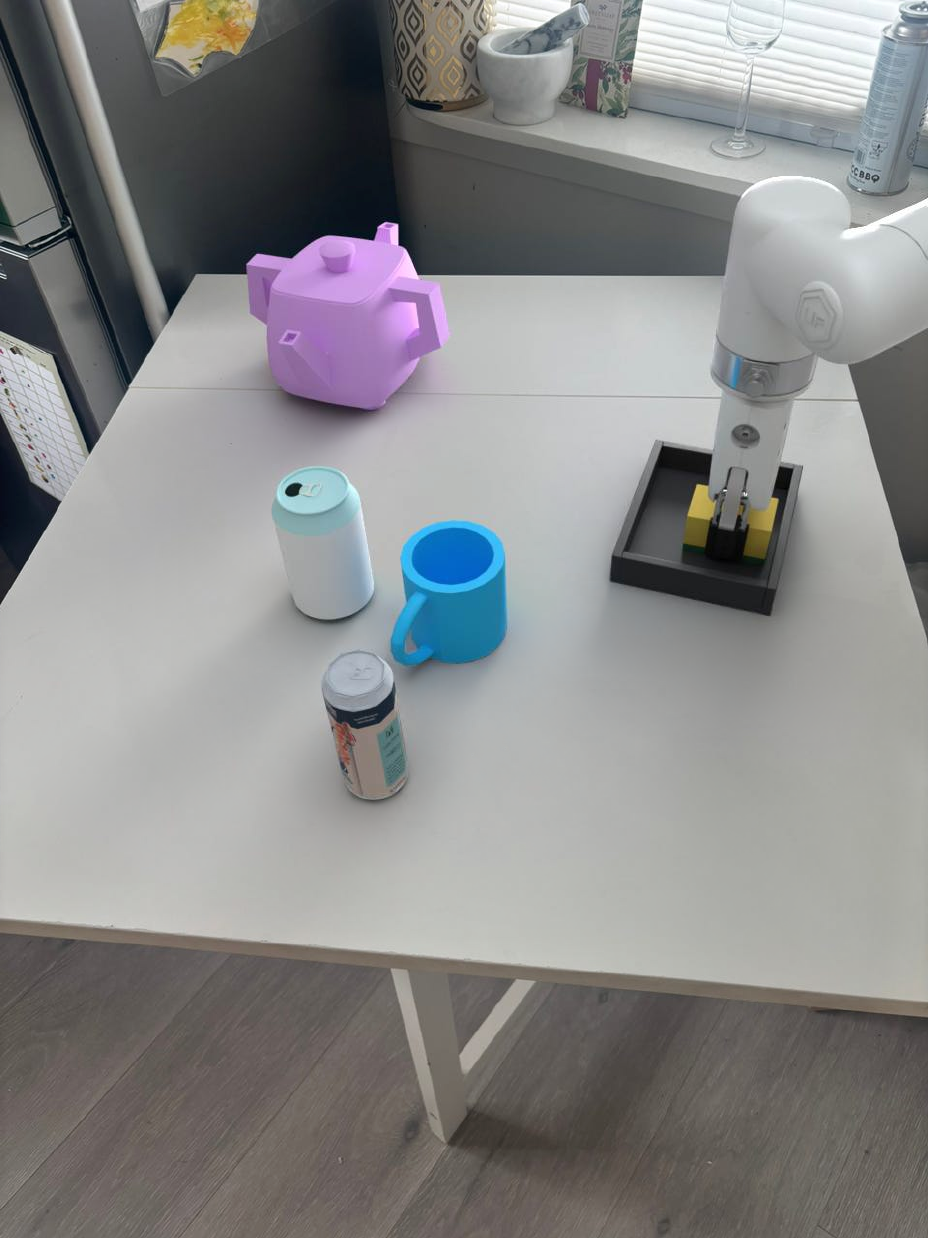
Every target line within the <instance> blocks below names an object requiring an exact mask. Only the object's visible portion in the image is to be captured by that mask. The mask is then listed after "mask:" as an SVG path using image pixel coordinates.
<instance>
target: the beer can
mask: <svg viewBox="0 0 928 1238" xmlns="http://www.w3.org/2000/svg"><path fill="white" fill-rule="evenodd" d="M320 685H321V686H320V687H321V694H322V698H323V701H324V705H325V710H326V713H327V718H328V721H329V722H328V723H329V725H330V729H331V733H332V737H333V741H334V745H335V750H336V754H337V757H338V760H339V765H340V769H341V774H342V777H343V781H344V783H345V785H346V787H347V789H348V790H349V791H350V793H352V794H353V795H354V796H356V797H358V798H361V799H364V800H372V801H375V800H382V799H386V798H388V797H391V796H392V795H394V794H396V793H397V792H398V791H400V789H401V788H402V787H403V786H404V785H405V783H406V781H407V778H408V776H409V763H408V757H407V751H406V745H405V738H404V732H403V727H402V726H403V725H402V721H401V714H400V713H401V712H400V708H399V707H400V706H399V701H398V695H397V690H396V683H395V678H394V673H393V670H392V668H391V666H390V665H389V664H388V663H387V662H386V661H385V660H384V659H382V658H381V657H380V656H379V655H377V653H376V652H371V651H369V650H364V649H360V648H358V649H354V650H350V651H347V652H343V653H340V654H339V655H337V657H335V658H334V659H333V660H332V661H331V662H330V663H328V665H327V667H326V669H325V671H324V674H323V675H322V678H321V684H320Z"/></svg>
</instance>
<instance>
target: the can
mask: <svg viewBox="0 0 928 1238" xmlns="http://www.w3.org/2000/svg"><path fill="white" fill-rule="evenodd" d="M359 494H360V493H358V491H357V489H356V488H355V486H353V484H351V483H350V481H349V479H348V477H347V476H346V475H345V474H344V473H343V472H342V471H340V470H339V469H336V468H333V467H329V466H324V465H313V466H306V467H302V468H298V469H296V470H293V471H292V472H290V473H288V475H286V476H285V477H284V478H282V479H281V481H280V482H279V483H278V485H277V486H276V489H275V498H274V499H273V502H272V504H271V517H272V521H273V525H274V529H275V533H276V536H277V540H278V544H279V545H278V546H279V549H280V553H281V556H282V560H283V565H284V569H285V572H286V575H287V579H288V584H289V588H290V592H291V595H292V599H293V602H294V604H295V606H296V607H297V609H299V611H301V613H303V614H305V615H306V616H309V617H312V618H315V619H319V620H336V619H337V620H338V619H342V618H346V617H348V616H351V615H353V614H355V613H357V612H359V611H360V610H362V609H363V608H364V607H365V606H367V604H368V603H369V601H371V598H372V597H373V595H374V591H375V581H374V575H373V569H372V562H371V557H370V551H369V545H368V538H367V532H366V527H365V520H364V516H363V508H362V504H361V498H360V495H359Z"/></svg>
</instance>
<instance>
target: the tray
mask: <svg viewBox="0 0 928 1238" xmlns="http://www.w3.org/2000/svg"><path fill="white" fill-rule="evenodd" d="M712 455H713V448H712V449H711V448H707V447H701V446H694V445H690V444H683V443H679V442H678V443H677V442H672V441H666V440H661V439H655V440H654V443H653V445H652V448H651V450H650V453H649V455H648V458H647V461H646V464H645V466H644V469H643V471H642V474H641V477H640V480H639V482H638V485H637V488H636V490H635V492H634V495H633V498H632V501H631V503H630V505H629V509H628V512H627V514H626V517H625V519H624V522H623V525H622V527H621V530H620V533H619V535H618V538H617V540H616V543H615V545H614V548H613V551H612V553H611V559H610V572H609V574H610V575H609V582H611V583H617V584H621V585H626V586H630V587H636V588H640V589H644V590H649V591H652V592H653V591H654V592H657V593H663V594H667V595H673V596H677V597H682V598H685V599H691V600H695V601H700V602H704V603H709V604H714V605H717V606H724V607H727V608H732V609H736V610H742V611H747V612H751V613H754V614H759V615H764V616H769V617H770V616H771V614H772V609H773V606H774V602H775V599H776V594H777V591H778V586H779V581H780V577H781V572H782V567H783V562H784V559H785V554H786V550H787V544H788V539H789V535H790V531H791V525H792V521H793V516H794V513H795V507H796V503H797V498H798V494H799V488H800V484H801V480H802V476H803V470H804V465H803V464H798V463H797V464H796V463H795V464H794V463H791V462H786V461H780V465H779V469H778V473H777V477H776V481H775V485H774V489H773V493H772V497H771V498H777V499H778V505H777V509H776V514H775V518H774V523H773V528H772V532H771V536H770V541H769V545H768V549H767V553H766V557H765V561H764V565H763V566H761V565H756V564H751V563H746V562H733V561H728V560H723V559H718V558H713V557H708V556H706V555H705V554H700V553H695V552H690V551H685V550H682V547H683V541H684V534H685V528H686V521H687V515H688V512H689V509H690V506H691V502H692V499H693V496H694V492H695V489H696V486H697V484H698V485H704V486H709V480H710V470H711V463H712Z"/></svg>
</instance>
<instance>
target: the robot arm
mask: <svg viewBox="0 0 928 1238" xmlns="http://www.w3.org/2000/svg"><path fill="white" fill-rule="evenodd" d="M851 222H852V210H851V205H850V202H849V200H848V198H847V196H846V195H845V194H844V193H843V192H842V190H840V189H839V188H837V187H836V186H834V185H832V184H831V183H828V182H825V181H824V180H820V179H816V178H812V177H804V176H793V175H792V176H791V175H790V176H778V177H771V178H768V179H765V180H762V181H759V182H758V183H755V184H754V185H752V186H751V187H749V188H748V189H747V190H746V191H745V192H744V193H743V194H742V195H741V197H740V199H739V201H738V202H737V204H736V206H735V209H734V215H733V220H732V226H731V230H730V239H729V245H728V250H727V251H728V253H727V259H726V265H725V271H724V276H723V277H724V278H723V284H722V290H721V297H720V303H719V304H720V305H719V310H718V317H717V323H716V329H715V335H714V342H713V347H712V354H711V361H710V368H709V374H710V377H711V379H712V380H713V382H714V383H715V385H717V387H718V388H719V389H721V390H722V391H721V396H720V402H719V408H718V415H717V421H716V428H715V433H714V440H713V448H712V450H713V455H712V463H711V470H710V480H709V489H708V497H709V498H710V500H711V501H712V502H714V501H715V500H716V505H715V510H714V515H713V517H711V519H710V523H709V529H708V535H707V540H706V546H705V551H704V554H705V555H706V556H708V557H713V558H718V559H723V560H728V561H733V562H741V561H742V558H743V553H744V549H745V544H746V539H747V535H748V530H749V526H750V524H747V520H748V515H749V511H750V506H751V509H752V510H759V511H764V510H766V509H767V508H768V507H769V504H770V501H771V497H772V493H773V489H774V485H775V481H776V477H777V473H778V469H779V465H780V461H781V460H782V456H783V452H784V448H785V443H786V439H787V436H788V431H789V427H790V423H791V418H792V413H793V409H794V402H795V398H797V397H799V396H801V395H803V394H804V393H805V392H806V391H807V390H809V388H810V387H811V385H812V383H813V380H814V375H815V371H816V367H817V363H818V359H819V358H820V359H822V360H824V361H826V362H828V363H832V364H835V365H853V364H857V363H861V362H864V361H866V360H869V359H872V358H873V357H875V356H877V355H879V354H881V353H883V352H885V351H886V350H889V349H891V348H893V347H895V346H896V345H899V344H901V343H902V342H904V341H906V340H908V339H910V338H912V337H913V336H915V335H917V334H919V333H921V332H922V331H925V330H926V329H928V198H926V199H924V200H922V201H920V202H918V203H915V204H914V205H911V206H909V207H907V208H904V209H902V210H899V211H896V212H895V213H893V214H891V215H889V216H886V217H884V218H882V219H879V220H877V221H875V222H873V223H870V224H868V225H866V226H860V227H856V228H850V227H851ZM781 462H782V461H781ZM723 502H724V504H723ZM722 505H723V508H722ZM740 505H743V506H744V507H743V512H742V516H741V515H739V514H738V511H739V506H740ZM721 510H722V511H721Z"/></svg>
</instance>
